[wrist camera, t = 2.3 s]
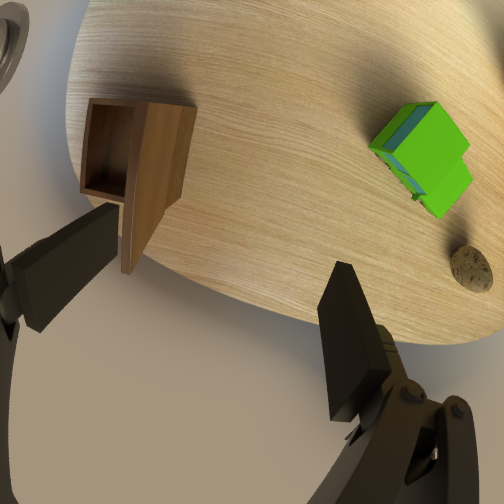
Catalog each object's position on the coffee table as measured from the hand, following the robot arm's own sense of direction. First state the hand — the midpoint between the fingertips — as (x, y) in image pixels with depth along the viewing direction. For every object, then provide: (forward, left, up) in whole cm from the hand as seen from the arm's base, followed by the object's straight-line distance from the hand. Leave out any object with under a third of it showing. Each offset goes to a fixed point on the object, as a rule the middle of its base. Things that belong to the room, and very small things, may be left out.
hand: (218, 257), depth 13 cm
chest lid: (-9, 0, -12) cm, 15 cm away
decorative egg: (+34, -3, -26) cm, 43 cm away
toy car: (+20, +8, -26) cm, 34 cm away
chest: (-16, 0, -26) cm, 30 cm away
